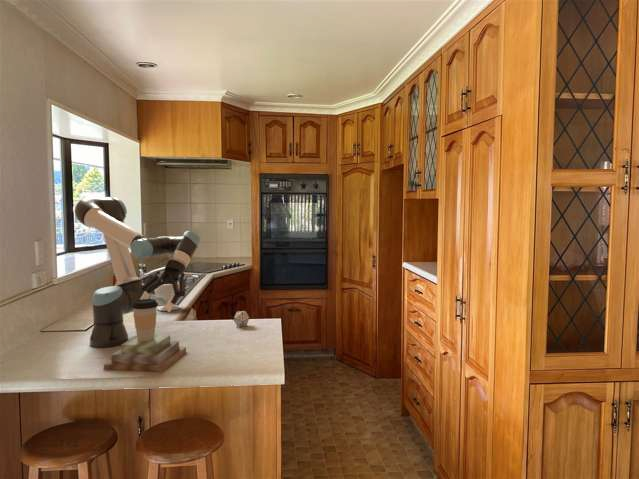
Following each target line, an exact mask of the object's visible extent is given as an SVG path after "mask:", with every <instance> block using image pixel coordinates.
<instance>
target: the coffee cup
mask: <svg viewBox="0 0 639 479" xmlns="http://www.w3.org/2000/svg"><path fill="white" fill-rule="evenodd" d="M158 306H159V304H158V302H157V300H156V299H154V298H151V299H141V300H136V301H134V304H133V305H132V308H133V312H132V313H133V320H134V321H133V322H134V328H135V331H136V332H135V333H136V336H137V339H138V341H139V342H149V341H152V340H154V335H156V333H155V332H156V324H157V314H158V313H157V309H158Z"/></svg>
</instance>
